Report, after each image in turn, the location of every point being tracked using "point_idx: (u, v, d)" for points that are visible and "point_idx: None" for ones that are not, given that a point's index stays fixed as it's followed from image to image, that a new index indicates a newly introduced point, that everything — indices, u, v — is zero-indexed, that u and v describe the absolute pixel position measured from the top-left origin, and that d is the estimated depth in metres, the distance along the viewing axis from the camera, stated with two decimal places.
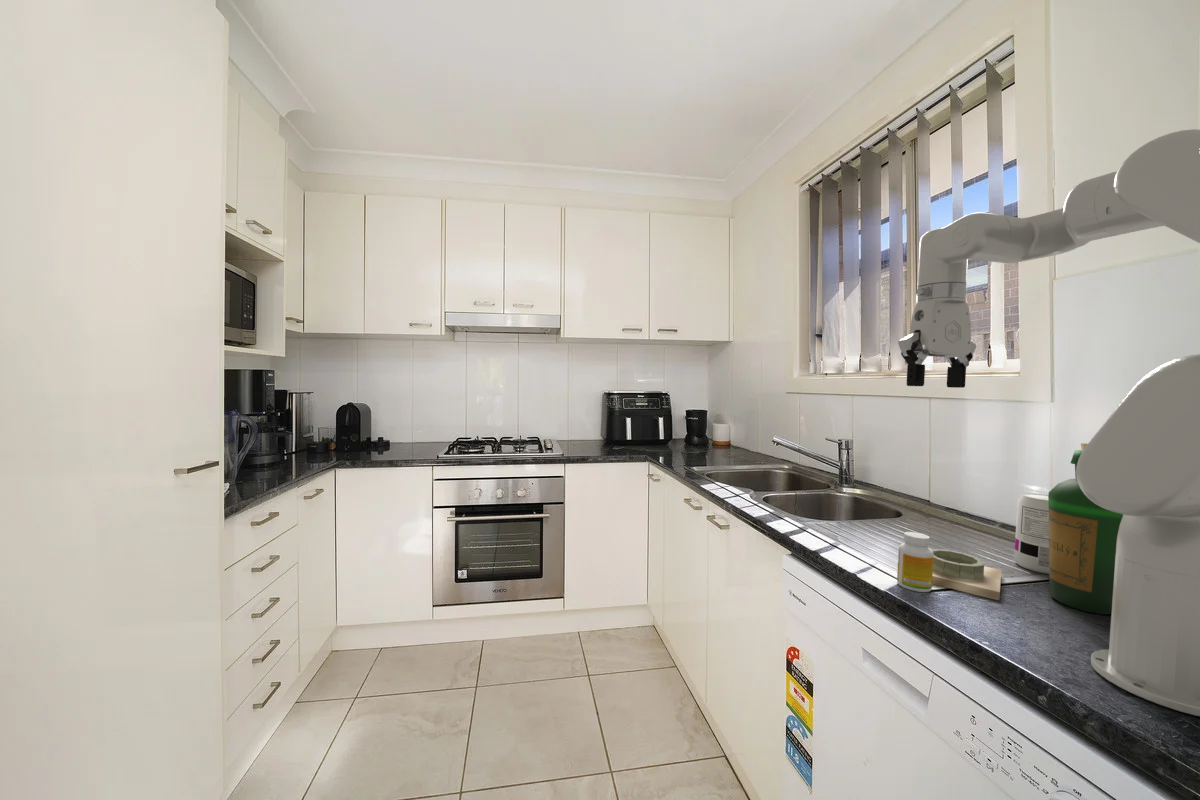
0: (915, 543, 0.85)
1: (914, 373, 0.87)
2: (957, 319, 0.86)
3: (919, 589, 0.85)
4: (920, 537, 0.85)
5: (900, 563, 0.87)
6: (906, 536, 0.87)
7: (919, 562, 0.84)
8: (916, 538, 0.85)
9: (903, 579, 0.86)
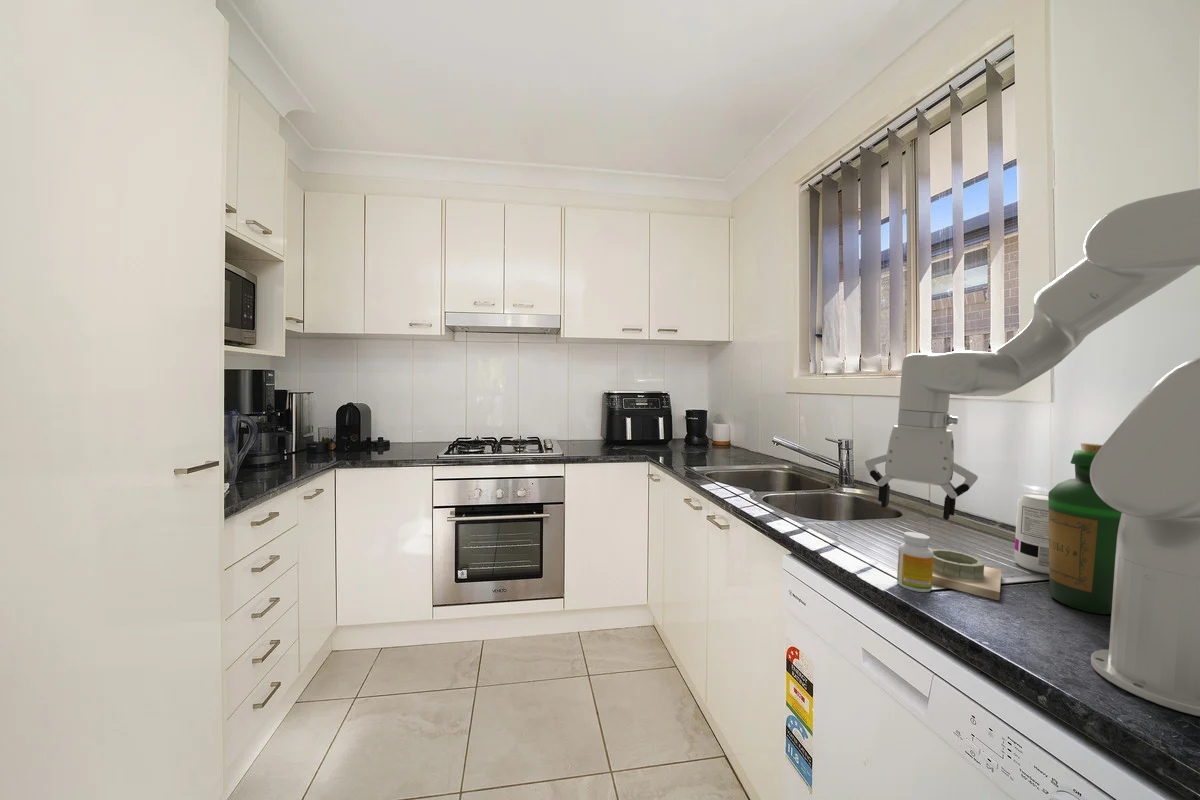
0: (915, 543, 0.85)
1: None
2: None
3: (919, 589, 0.85)
4: (920, 537, 0.85)
5: (900, 563, 0.87)
6: (906, 536, 0.87)
7: (919, 562, 0.84)
8: (916, 538, 0.85)
9: (903, 579, 0.86)
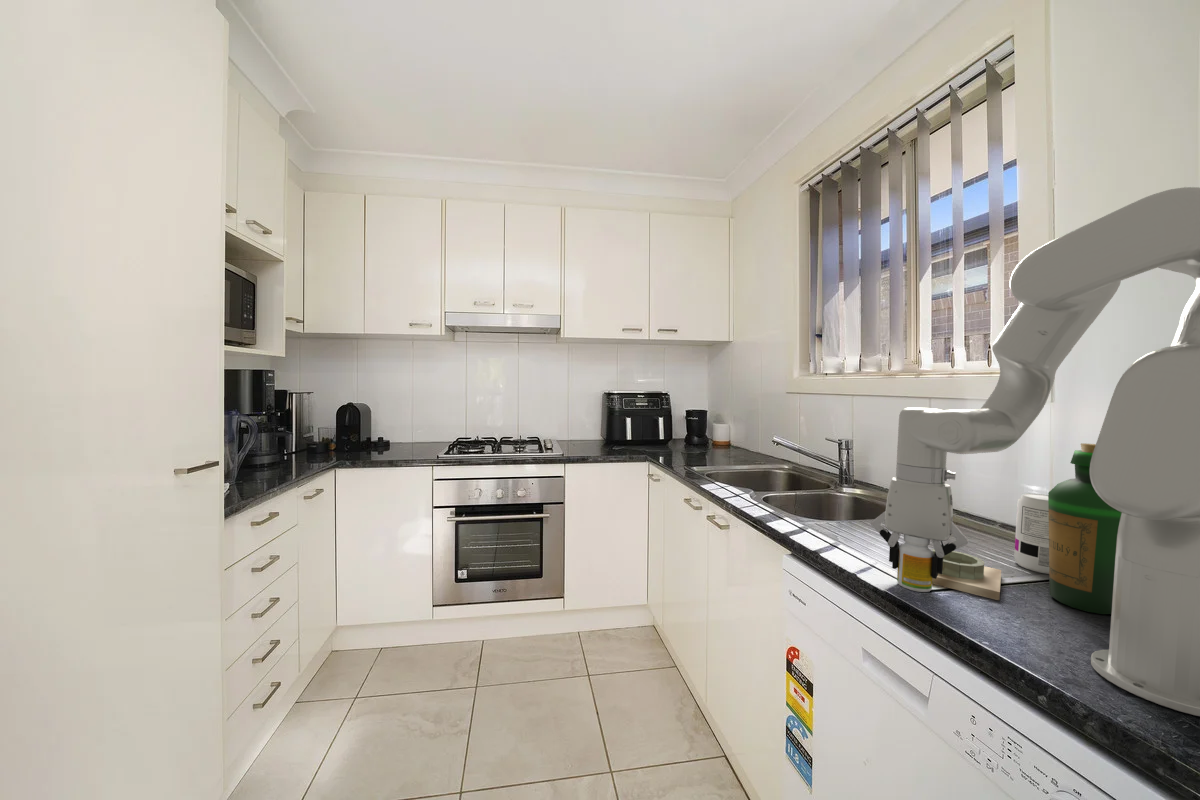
0: (915, 543, 0.85)
1: None
2: None
3: (919, 589, 0.85)
4: None
5: (900, 563, 0.87)
6: (906, 536, 0.87)
7: (919, 562, 0.84)
8: (916, 538, 0.85)
9: (903, 579, 0.86)
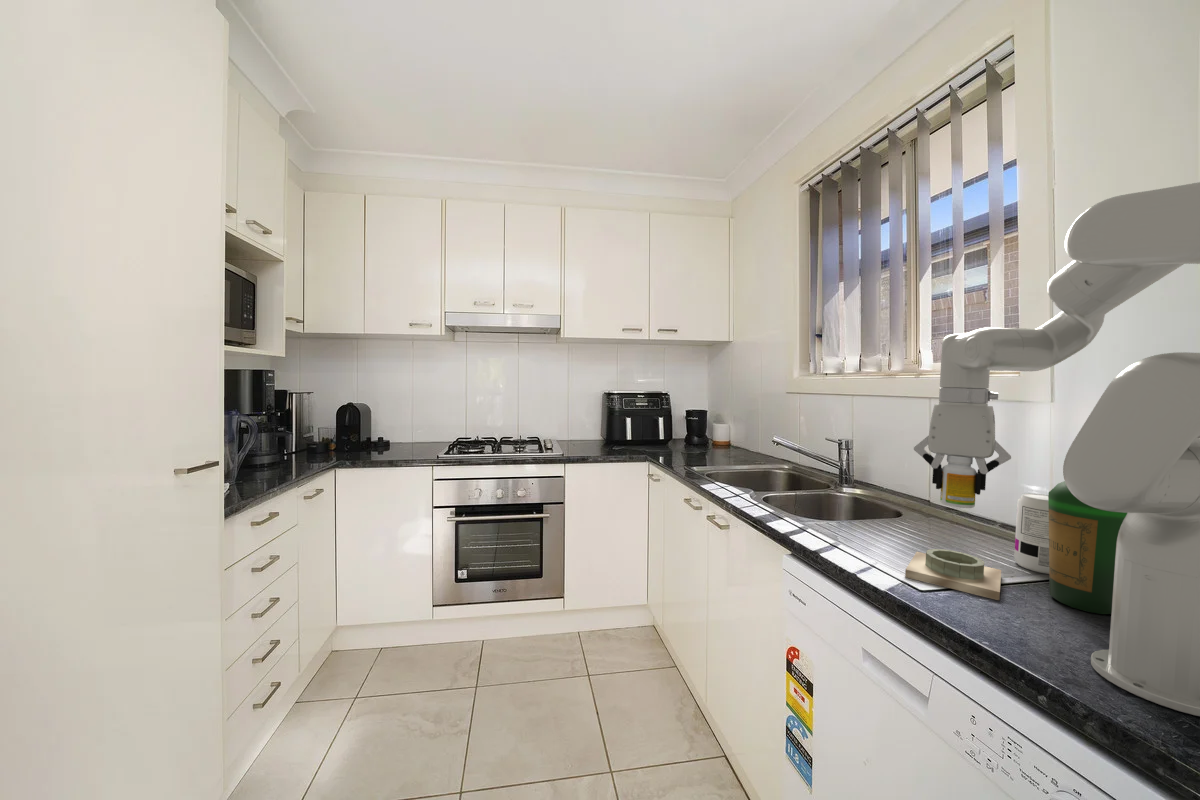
0: (959, 462, 0.90)
1: None
2: None
3: (963, 505, 0.89)
4: None
5: (944, 482, 0.91)
6: (950, 457, 0.91)
7: (963, 479, 0.89)
8: (960, 457, 0.90)
9: (947, 497, 0.91)
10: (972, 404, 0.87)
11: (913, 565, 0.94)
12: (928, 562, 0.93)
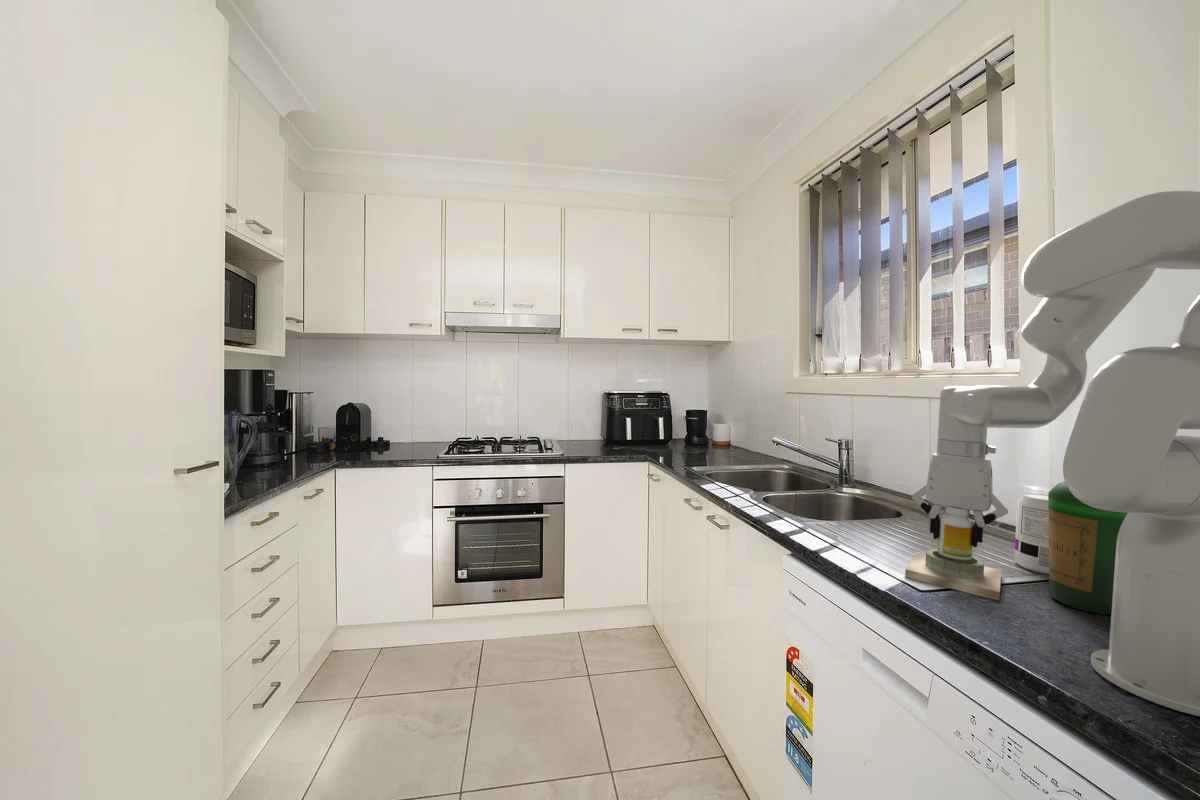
0: (956, 514, 0.90)
1: None
2: None
3: (960, 557, 0.89)
4: None
5: (941, 533, 0.92)
6: (947, 508, 0.92)
7: (960, 531, 0.89)
8: (957, 509, 0.90)
9: (944, 548, 0.91)
10: (969, 458, 0.88)
11: (913, 565, 0.94)
12: (928, 562, 0.93)
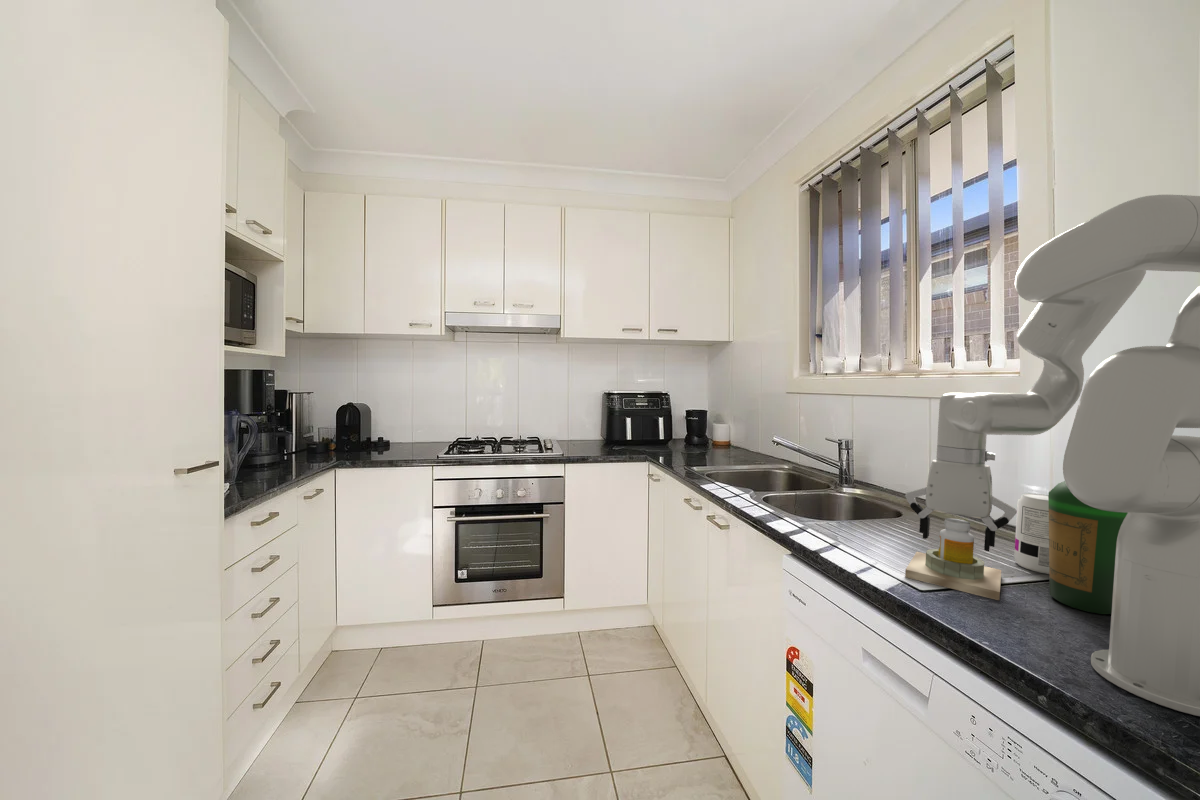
0: (956, 529, 0.90)
1: None
2: None
3: None
4: (961, 523, 0.90)
5: (942, 547, 0.92)
6: (947, 522, 0.91)
7: (960, 546, 0.89)
8: (957, 524, 0.90)
9: None
10: (969, 465, 0.88)
11: (913, 565, 0.94)
12: (928, 562, 0.93)
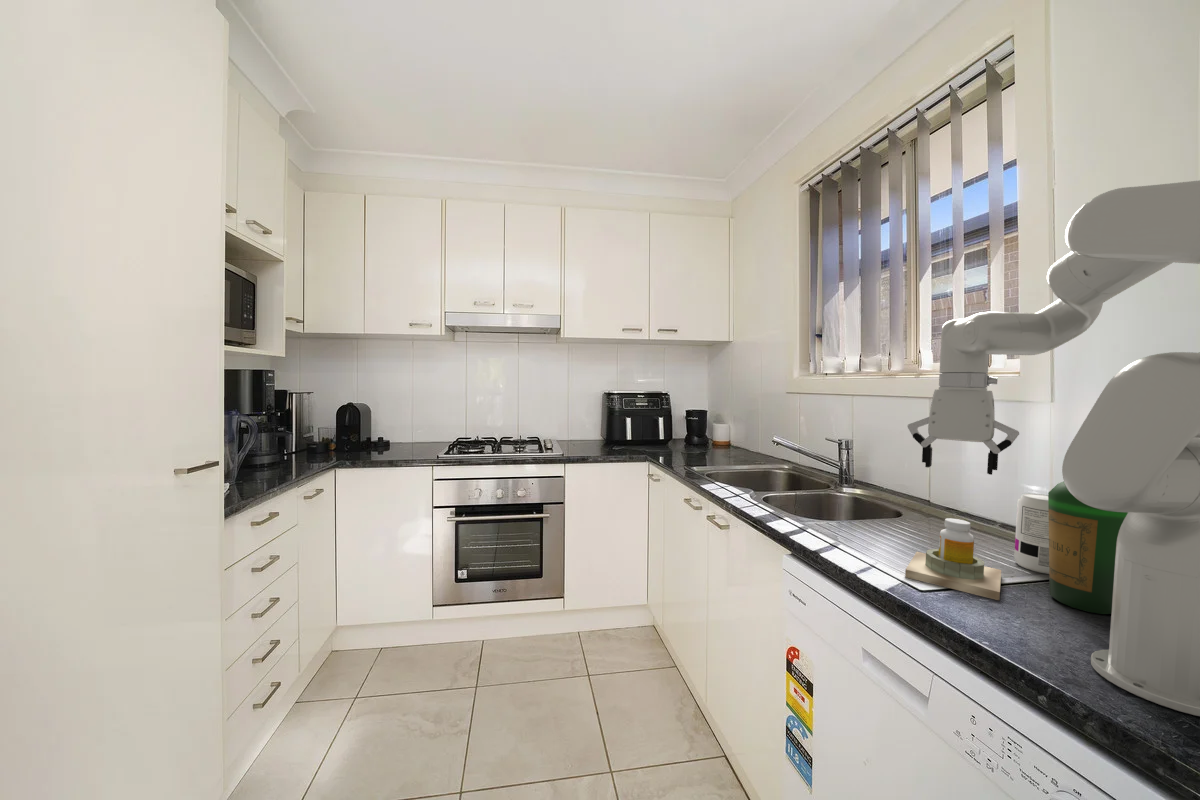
0: (956, 529, 0.90)
1: None
2: None
3: None
4: (961, 523, 0.90)
5: (942, 547, 0.92)
6: (947, 522, 0.91)
7: (961, 546, 0.89)
8: (958, 524, 0.90)
9: None
10: (971, 388, 0.88)
11: (913, 565, 0.94)
12: (928, 562, 0.93)
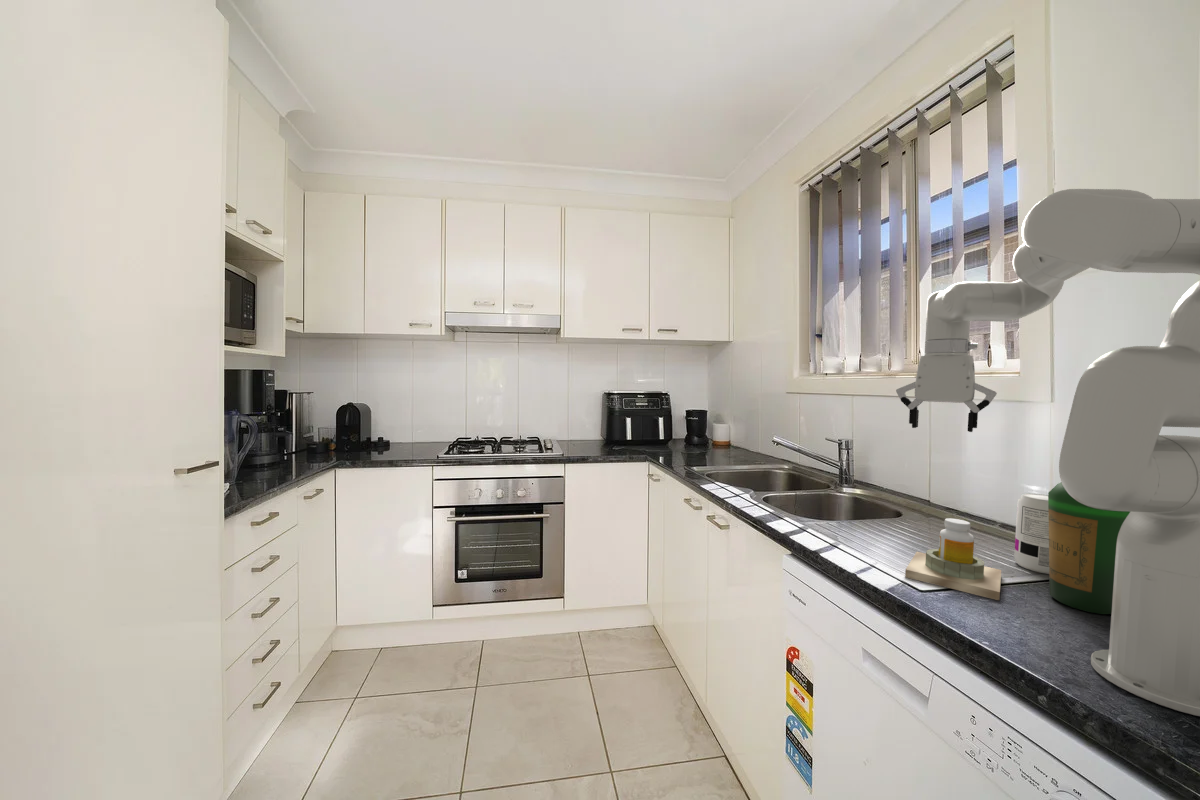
0: (956, 529, 0.90)
1: None
2: None
3: None
4: (961, 523, 0.90)
5: (942, 547, 0.92)
6: (947, 522, 0.91)
7: (960, 546, 0.89)
8: (957, 524, 0.90)
9: None
10: (953, 353, 0.96)
11: (913, 565, 0.94)
12: (928, 562, 0.93)
